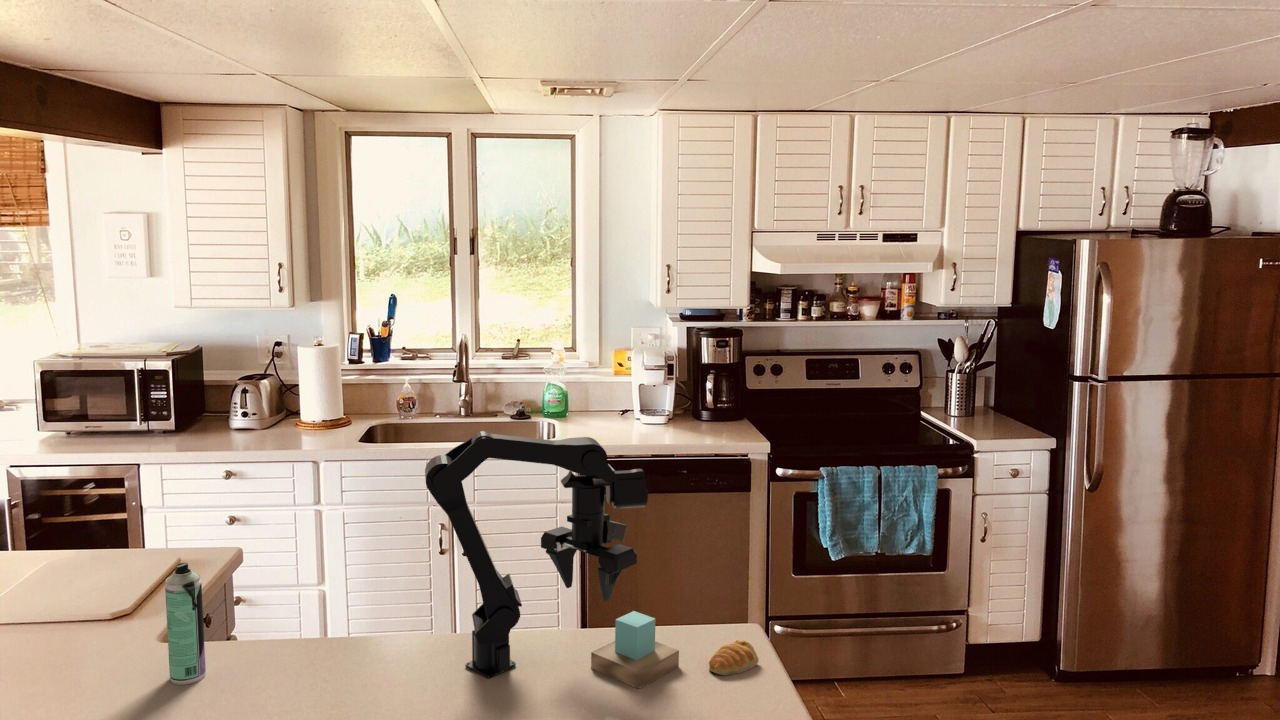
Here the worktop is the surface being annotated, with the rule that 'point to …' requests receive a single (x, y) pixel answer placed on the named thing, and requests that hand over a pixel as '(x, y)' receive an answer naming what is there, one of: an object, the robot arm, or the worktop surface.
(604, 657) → the oak base
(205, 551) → the worktop surface
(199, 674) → the spray can
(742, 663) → the pastry
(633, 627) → the teal block
